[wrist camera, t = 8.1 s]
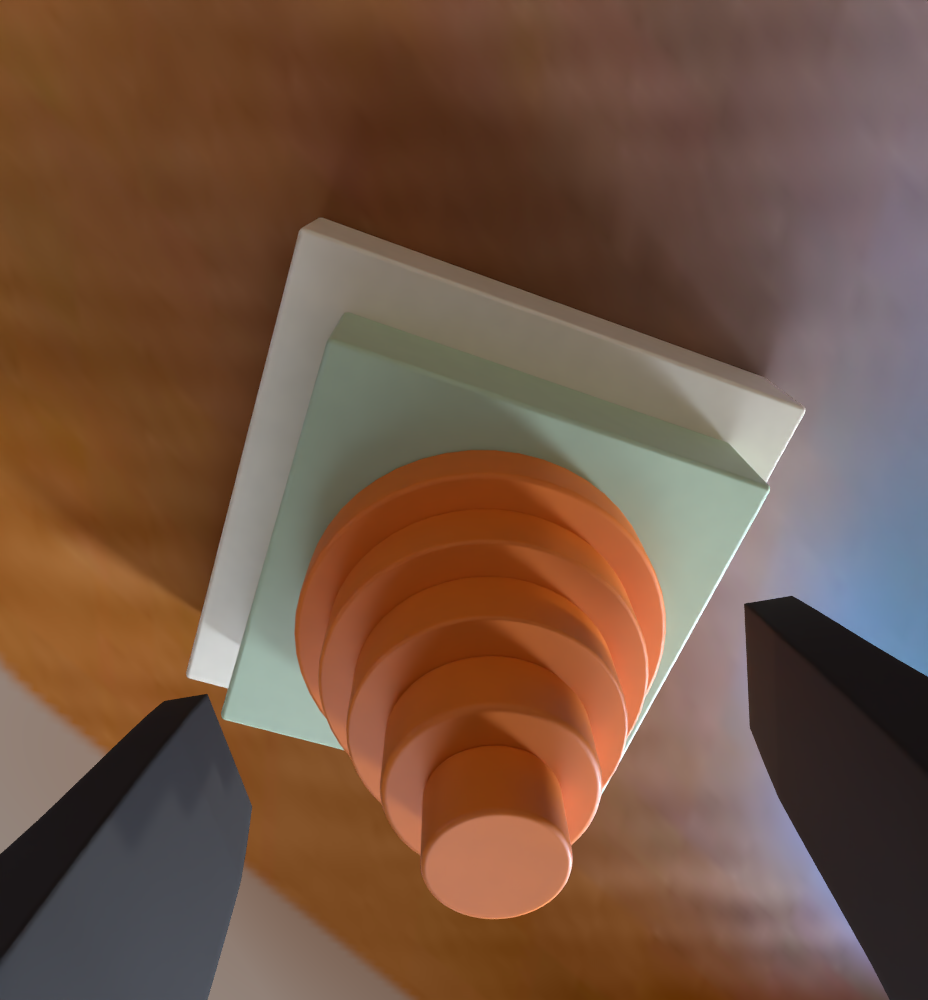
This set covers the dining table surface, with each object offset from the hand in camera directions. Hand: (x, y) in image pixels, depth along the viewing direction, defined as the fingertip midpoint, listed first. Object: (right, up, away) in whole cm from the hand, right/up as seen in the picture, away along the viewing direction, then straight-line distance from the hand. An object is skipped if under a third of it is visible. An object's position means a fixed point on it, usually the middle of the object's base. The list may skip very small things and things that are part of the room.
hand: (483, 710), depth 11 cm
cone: (0, +1, +2) cm, 2 cm away
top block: (0, +2, +4) cm, 4 cm away
